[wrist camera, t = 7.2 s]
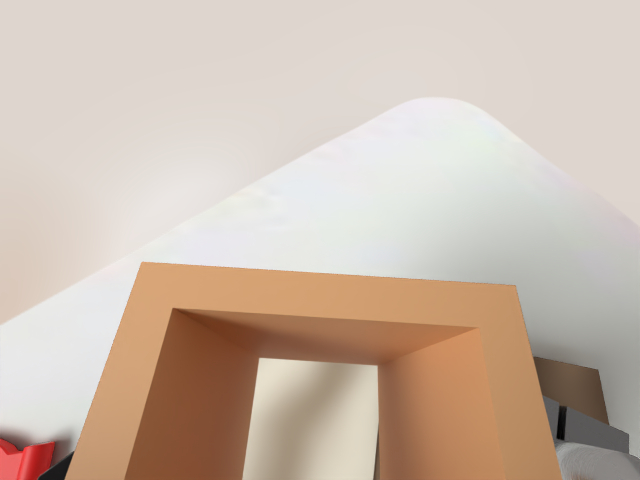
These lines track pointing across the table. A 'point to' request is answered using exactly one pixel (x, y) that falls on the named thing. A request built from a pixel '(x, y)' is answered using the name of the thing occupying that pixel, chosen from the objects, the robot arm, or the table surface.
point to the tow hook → (24, 460)
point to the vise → (589, 446)
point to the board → (355, 416)
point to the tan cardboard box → (319, 346)
